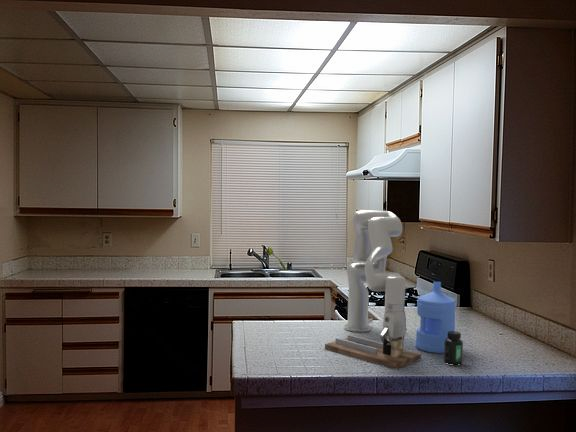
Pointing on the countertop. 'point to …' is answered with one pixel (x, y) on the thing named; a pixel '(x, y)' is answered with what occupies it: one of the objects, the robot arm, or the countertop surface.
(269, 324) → the countertop surface
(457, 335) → the supplement bottle
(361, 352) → the deck
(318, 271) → the countertop surface
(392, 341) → the block
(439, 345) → the water jug
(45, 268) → the countertop surface
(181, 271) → the countertop surface
